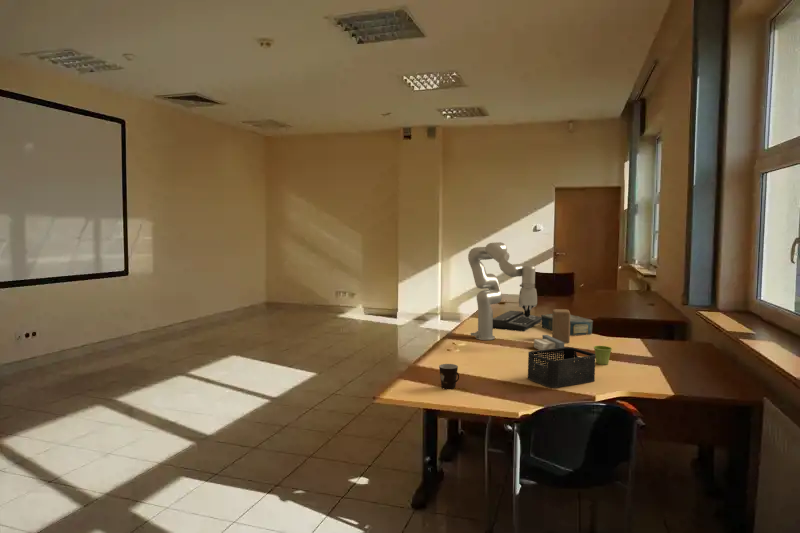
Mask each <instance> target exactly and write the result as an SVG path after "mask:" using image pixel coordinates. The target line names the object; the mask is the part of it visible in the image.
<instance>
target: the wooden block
mask: <svg viewBox="0 0 800 533" xmlns="http://www.w3.org/2000/svg"><path fill="white" fill-rule="evenodd" d="M552 314H553V320H552V331H551V334H552V335H551V337H553V338H555V339H557V340H560V341H562V342H564V344H568V343H570V337H571V336H570V315H571V312H570V310H569V309H565V308H564V309H563V308H562V309H561V308H560V309H559V308H557V309H556V308H555V309H554V308H553V309H552Z"/></svg>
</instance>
